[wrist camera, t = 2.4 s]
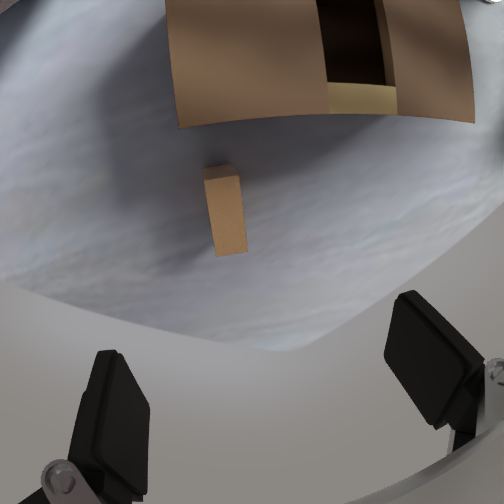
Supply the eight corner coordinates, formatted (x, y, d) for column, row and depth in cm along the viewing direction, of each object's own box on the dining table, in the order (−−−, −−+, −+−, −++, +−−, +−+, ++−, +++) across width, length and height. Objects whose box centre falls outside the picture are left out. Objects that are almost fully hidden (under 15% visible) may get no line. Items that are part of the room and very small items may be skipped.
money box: (175, 6, 19) (162, -61, 8) (376, 10, 21) (453, -20, 10) (188, 126, 24) (179, 128, 13) (388, 113, 26) (474, 123, 16)
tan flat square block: (202, 168, 26) (203, 180, 21) (230, 163, 26) (238, 175, 21) (212, 229, 29) (216, 256, 23) (238, 225, 29) (248, 251, 24)
